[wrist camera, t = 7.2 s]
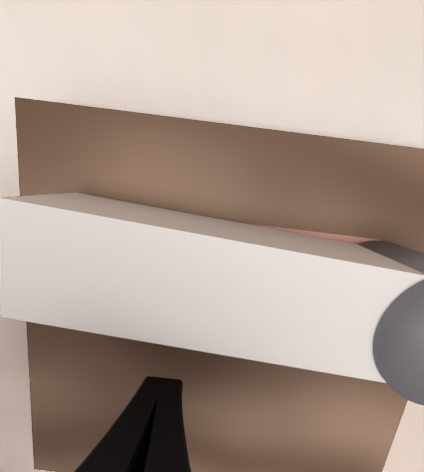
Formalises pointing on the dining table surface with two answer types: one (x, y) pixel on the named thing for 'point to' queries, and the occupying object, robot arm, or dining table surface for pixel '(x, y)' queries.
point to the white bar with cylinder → (215, 286)
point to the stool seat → (231, 209)
